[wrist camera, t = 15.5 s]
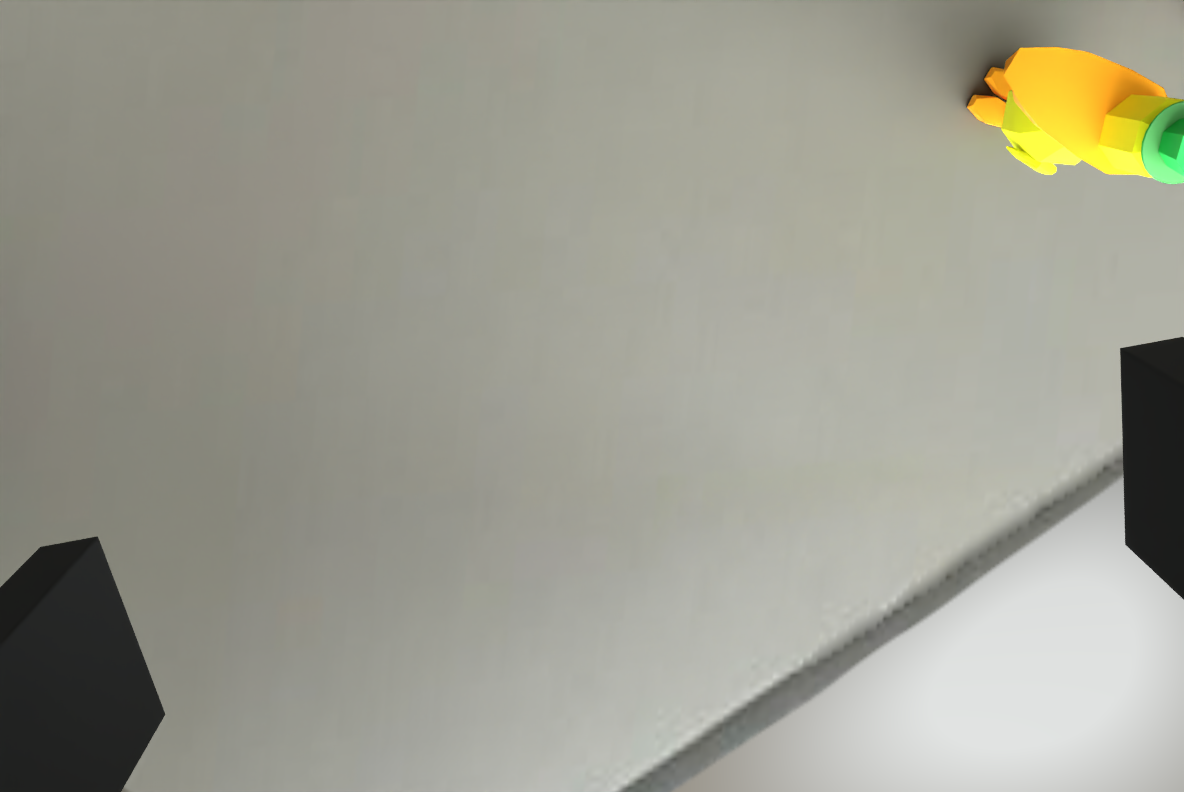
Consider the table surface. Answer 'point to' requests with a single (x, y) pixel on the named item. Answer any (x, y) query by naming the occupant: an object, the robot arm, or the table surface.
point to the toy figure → (1084, 114)
